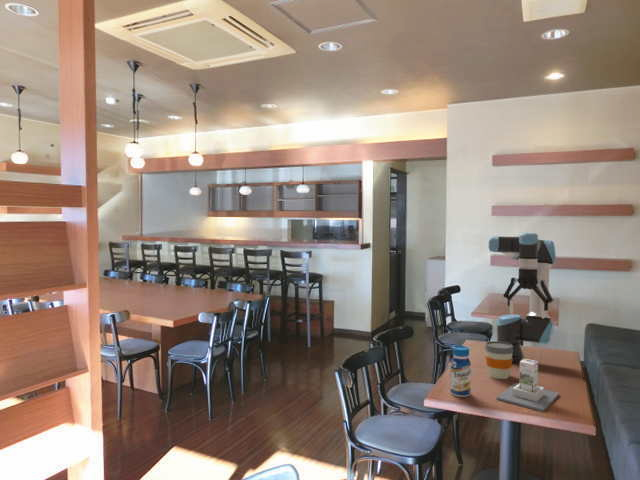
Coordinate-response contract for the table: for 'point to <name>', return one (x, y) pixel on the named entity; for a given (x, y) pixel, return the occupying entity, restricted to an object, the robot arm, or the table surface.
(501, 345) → the reusable coffee cup
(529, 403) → the keeper board
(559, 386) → the table surface
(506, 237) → the robot arm
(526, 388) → the syrup box
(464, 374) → the beverage bottle
